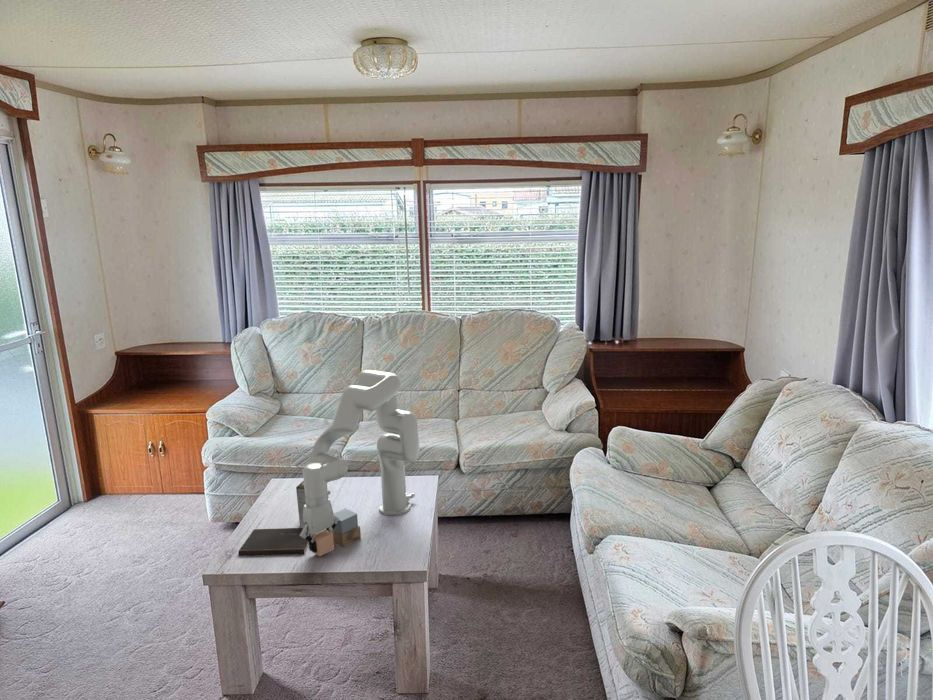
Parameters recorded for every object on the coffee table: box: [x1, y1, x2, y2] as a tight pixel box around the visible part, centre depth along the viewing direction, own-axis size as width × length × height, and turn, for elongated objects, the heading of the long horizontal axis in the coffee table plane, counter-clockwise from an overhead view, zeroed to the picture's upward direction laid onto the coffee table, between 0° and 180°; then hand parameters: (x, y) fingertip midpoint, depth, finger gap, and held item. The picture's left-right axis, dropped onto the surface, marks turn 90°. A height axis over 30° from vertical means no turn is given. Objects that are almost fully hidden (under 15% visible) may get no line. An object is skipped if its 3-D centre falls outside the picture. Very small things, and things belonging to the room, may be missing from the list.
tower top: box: [333, 508, 359, 534], centre depth 216 cm, size 7×7×5 cm
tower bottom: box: [333, 525, 362, 548], centre depth 216 cm, size 8×8×5 cm
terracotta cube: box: [308, 529, 335, 557], centre depth 206 cm, size 6×6×6 cm
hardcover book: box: [237, 527, 309, 557], centre depth 215 cm, size 16×23×2 cm
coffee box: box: [295, 480, 306, 527], centre depth 230 cm, size 9×6×16 cm
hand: (321, 546), depth 207 cm, fingers closed on terracotta cube, 6 cm apart
